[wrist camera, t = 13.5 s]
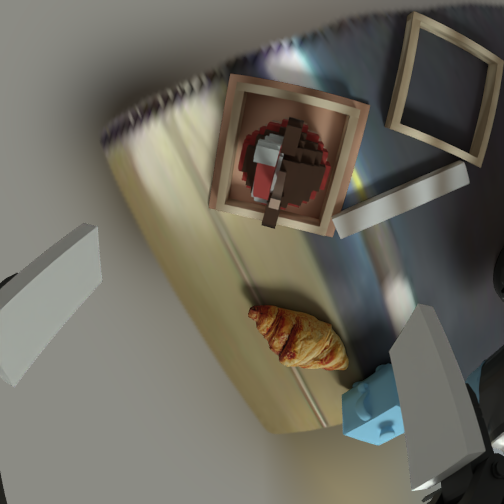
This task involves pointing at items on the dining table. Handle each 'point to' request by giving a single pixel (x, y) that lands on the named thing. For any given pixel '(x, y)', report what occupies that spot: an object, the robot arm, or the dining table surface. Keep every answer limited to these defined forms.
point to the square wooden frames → (344, 142)
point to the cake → (283, 166)
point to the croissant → (300, 338)
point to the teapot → (373, 408)
